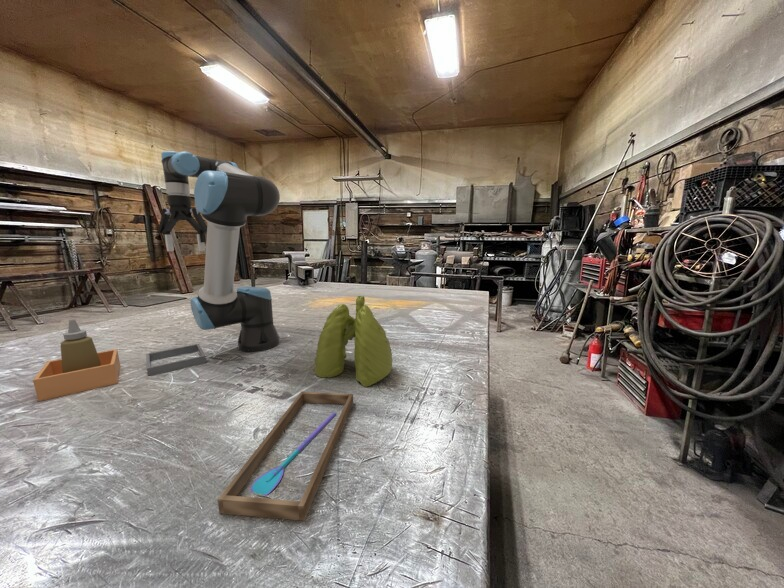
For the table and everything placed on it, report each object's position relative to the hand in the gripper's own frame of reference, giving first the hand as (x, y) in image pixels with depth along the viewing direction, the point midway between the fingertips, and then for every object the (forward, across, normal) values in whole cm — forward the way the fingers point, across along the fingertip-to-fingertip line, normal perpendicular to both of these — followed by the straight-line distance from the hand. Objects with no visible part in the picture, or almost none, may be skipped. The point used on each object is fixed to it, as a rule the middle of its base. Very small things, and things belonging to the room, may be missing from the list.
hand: (186, 251), depth 121 cm
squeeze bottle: (+36, +6, +39) cm, 53 cm away
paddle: (+37, -70, +61) cm, 100 cm away
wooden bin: (+37, +6, +39) cm, 54 cm away
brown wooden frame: (+37, -70, +60) cm, 99 cm away
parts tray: (+37, -10, +23) cm, 44 cm away
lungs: (+37, -73, +26) cm, 86 cm away
